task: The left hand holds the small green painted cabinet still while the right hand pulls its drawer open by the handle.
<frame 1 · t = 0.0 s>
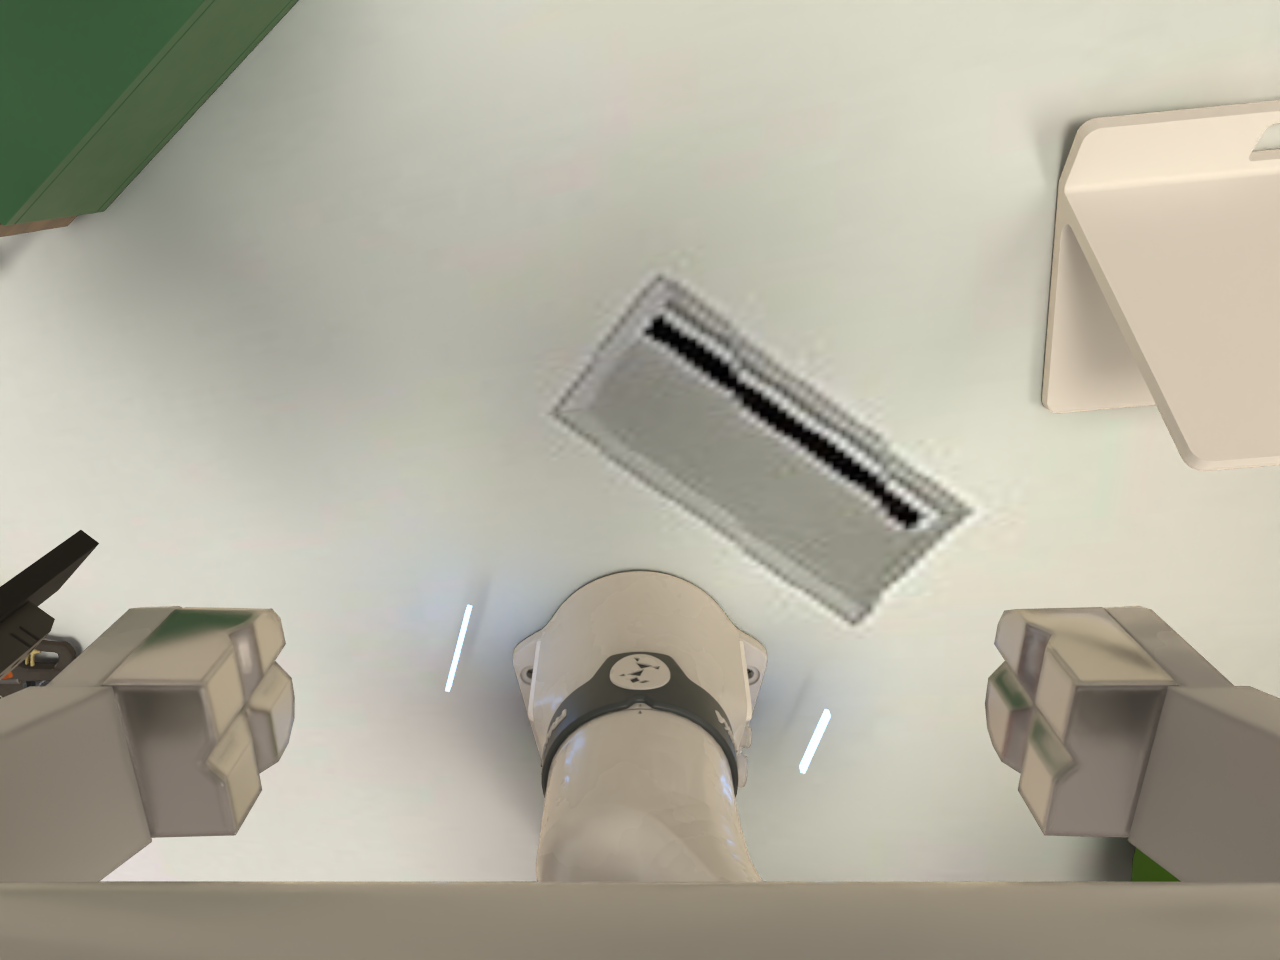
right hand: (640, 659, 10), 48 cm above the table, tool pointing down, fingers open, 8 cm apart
vase: (1187, 833, 72), on the table
tablet stand: (1251, 254, 55), on the table
cabinet: (145, 11, 50), on the table
toy gun: (91, 654, 66), on the table
drawer: (37, 73, 47), point 5 cm above the table, slide at 0.7 cm
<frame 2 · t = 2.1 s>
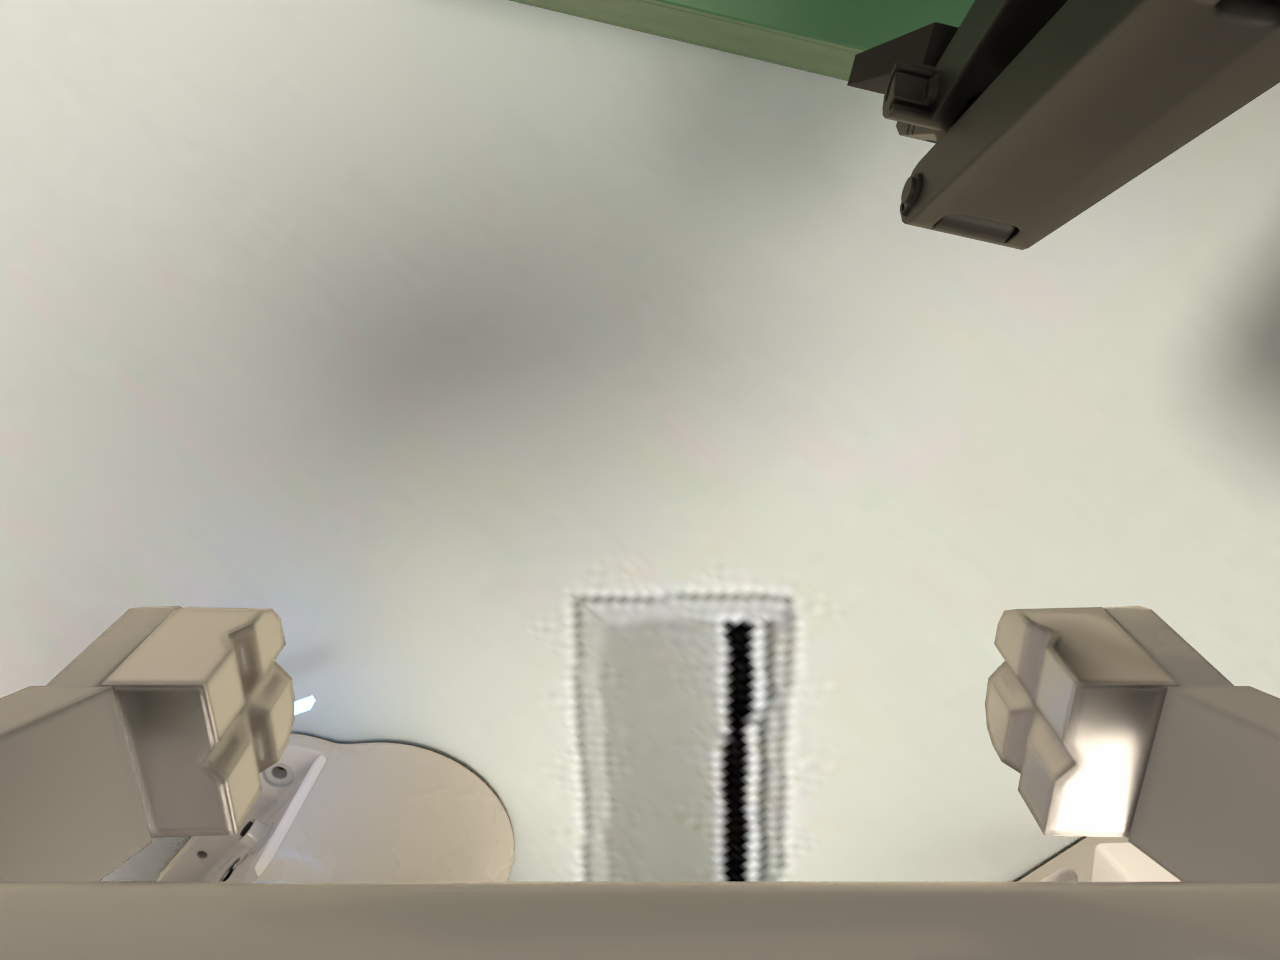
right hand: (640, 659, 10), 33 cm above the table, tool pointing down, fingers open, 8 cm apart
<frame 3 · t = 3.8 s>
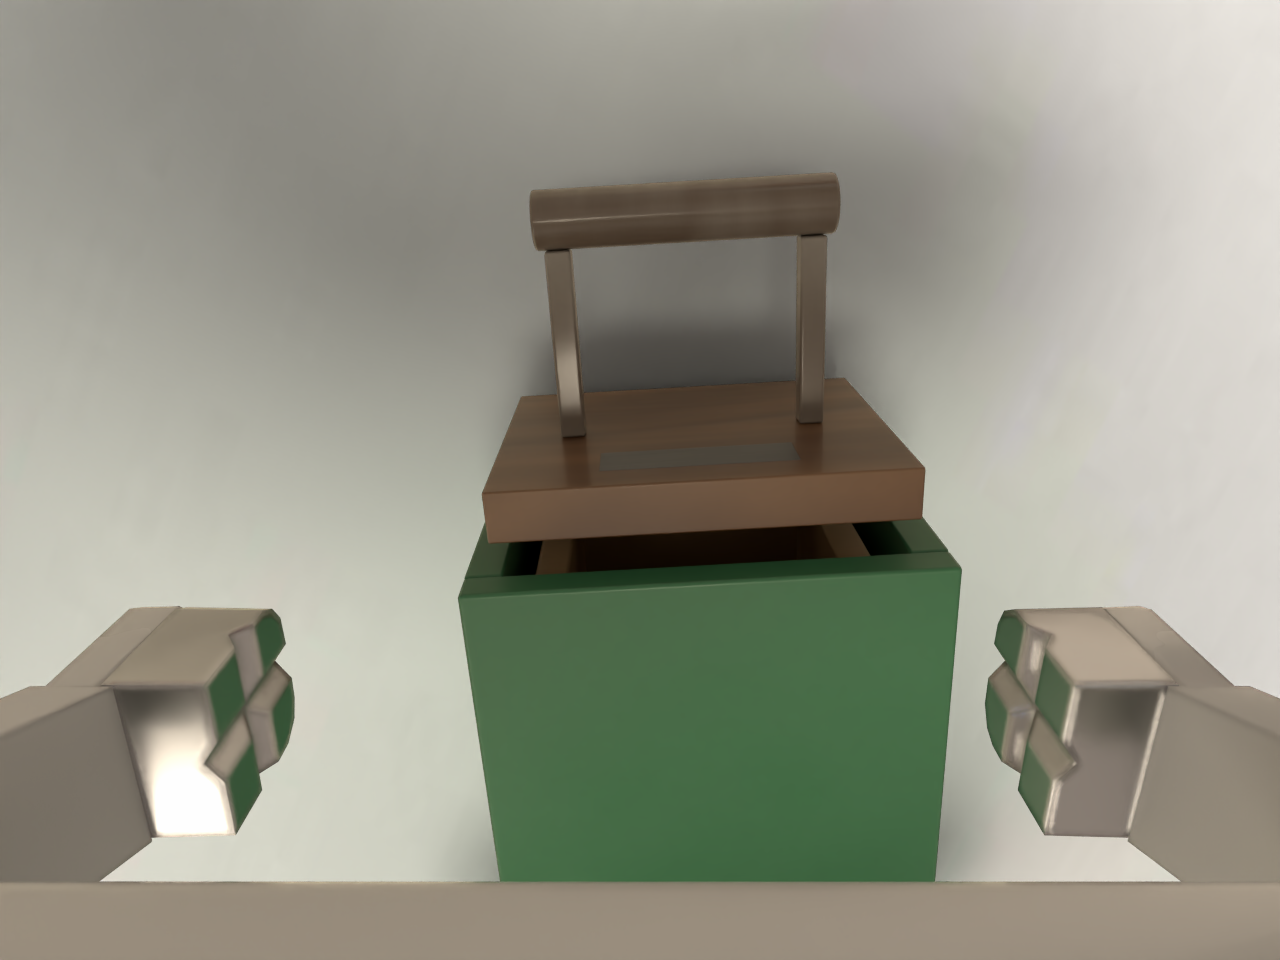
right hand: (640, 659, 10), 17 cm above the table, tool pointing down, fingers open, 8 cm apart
cabinet: (694, 731, 31), on the table, touching left hand
drawer: (700, 676, 24), point 5 cm above the table, slide at 0.7 cm
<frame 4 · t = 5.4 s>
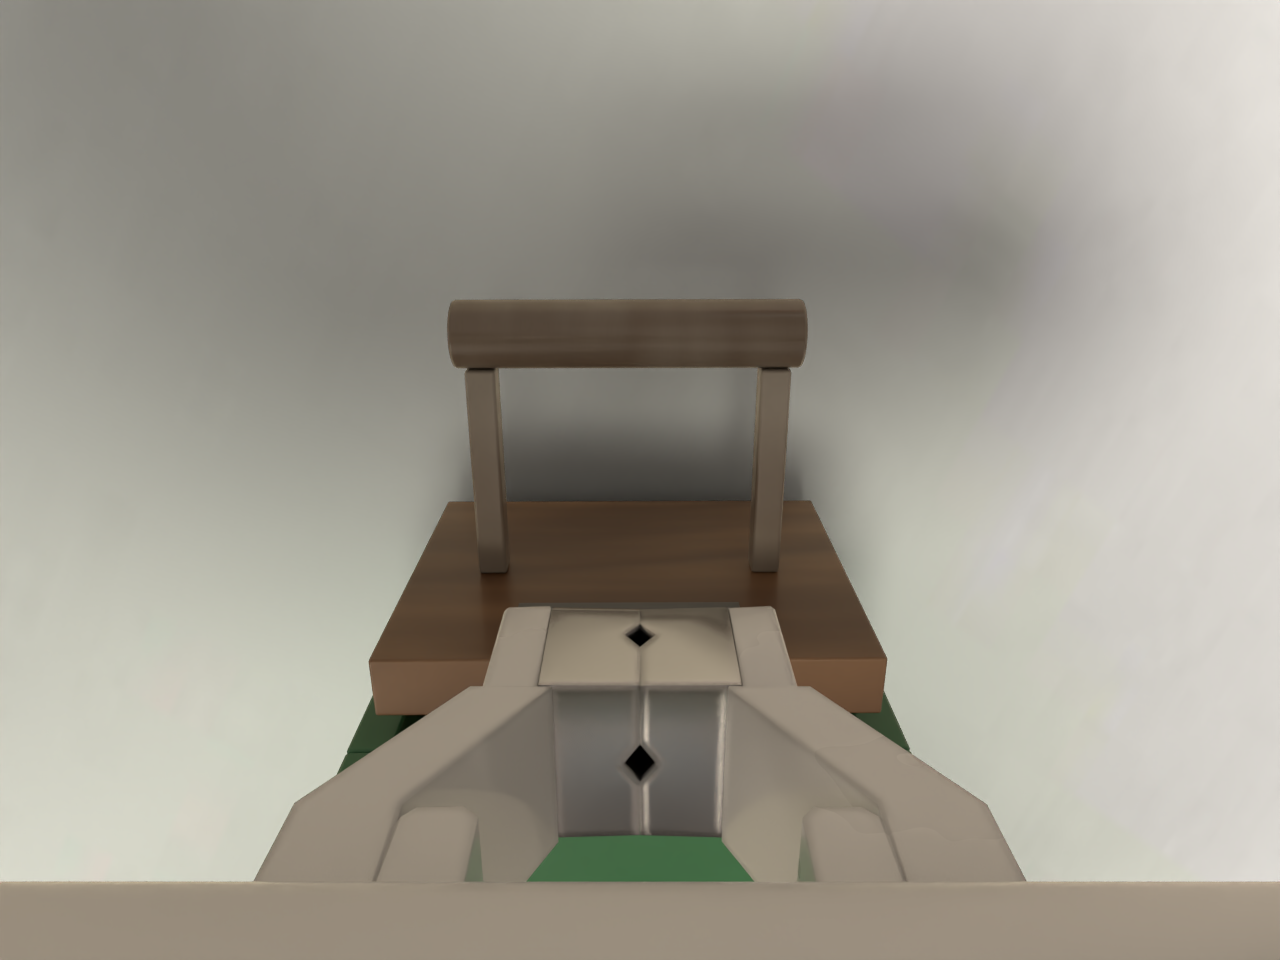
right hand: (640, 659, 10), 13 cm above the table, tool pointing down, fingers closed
cabinet: (632, 856, 28), on the table, touching left hand
drawer: (630, 829, 22), point 5 cm above the table, slide at 0.7 cm
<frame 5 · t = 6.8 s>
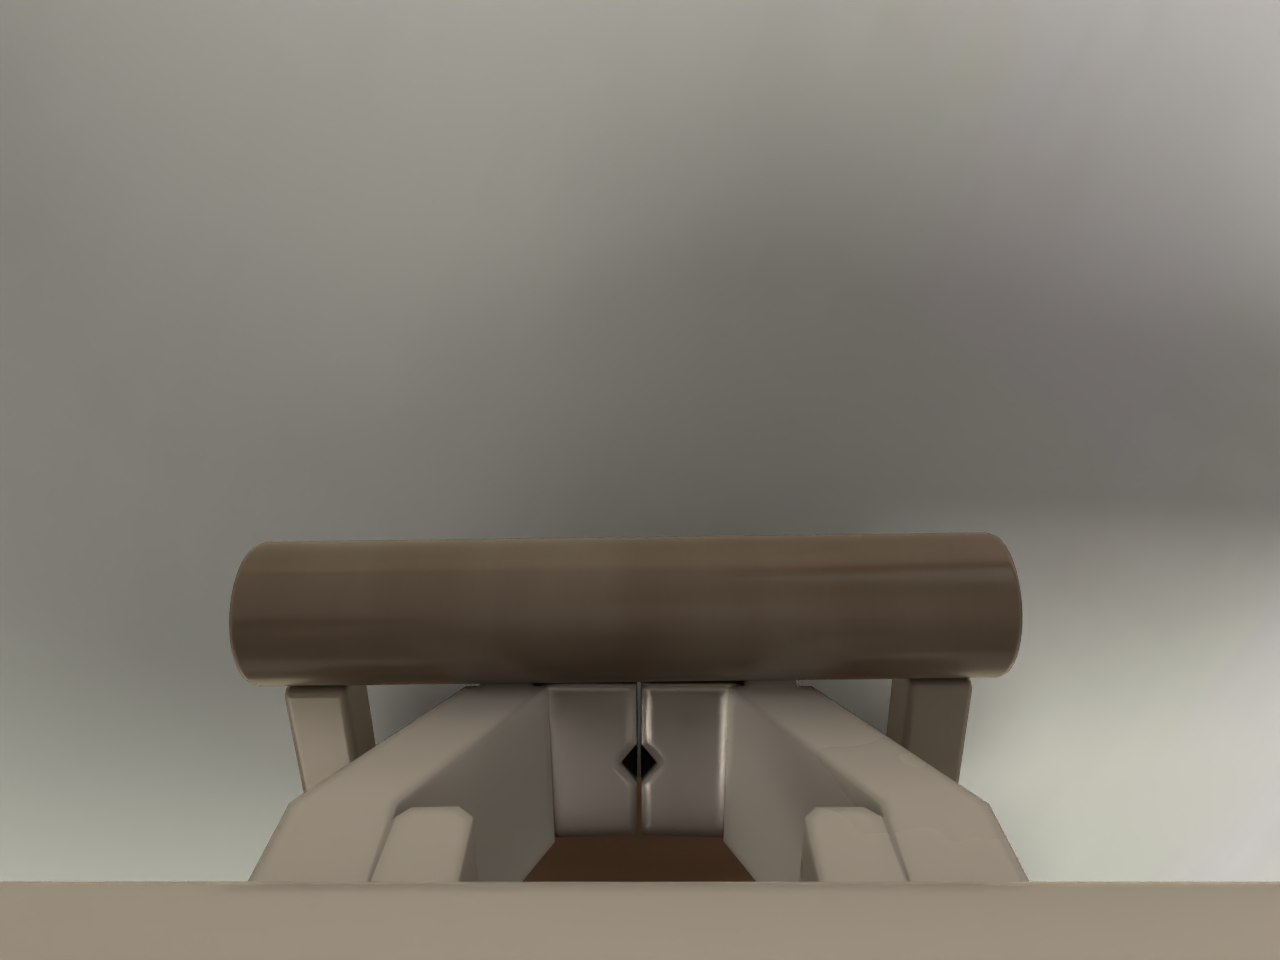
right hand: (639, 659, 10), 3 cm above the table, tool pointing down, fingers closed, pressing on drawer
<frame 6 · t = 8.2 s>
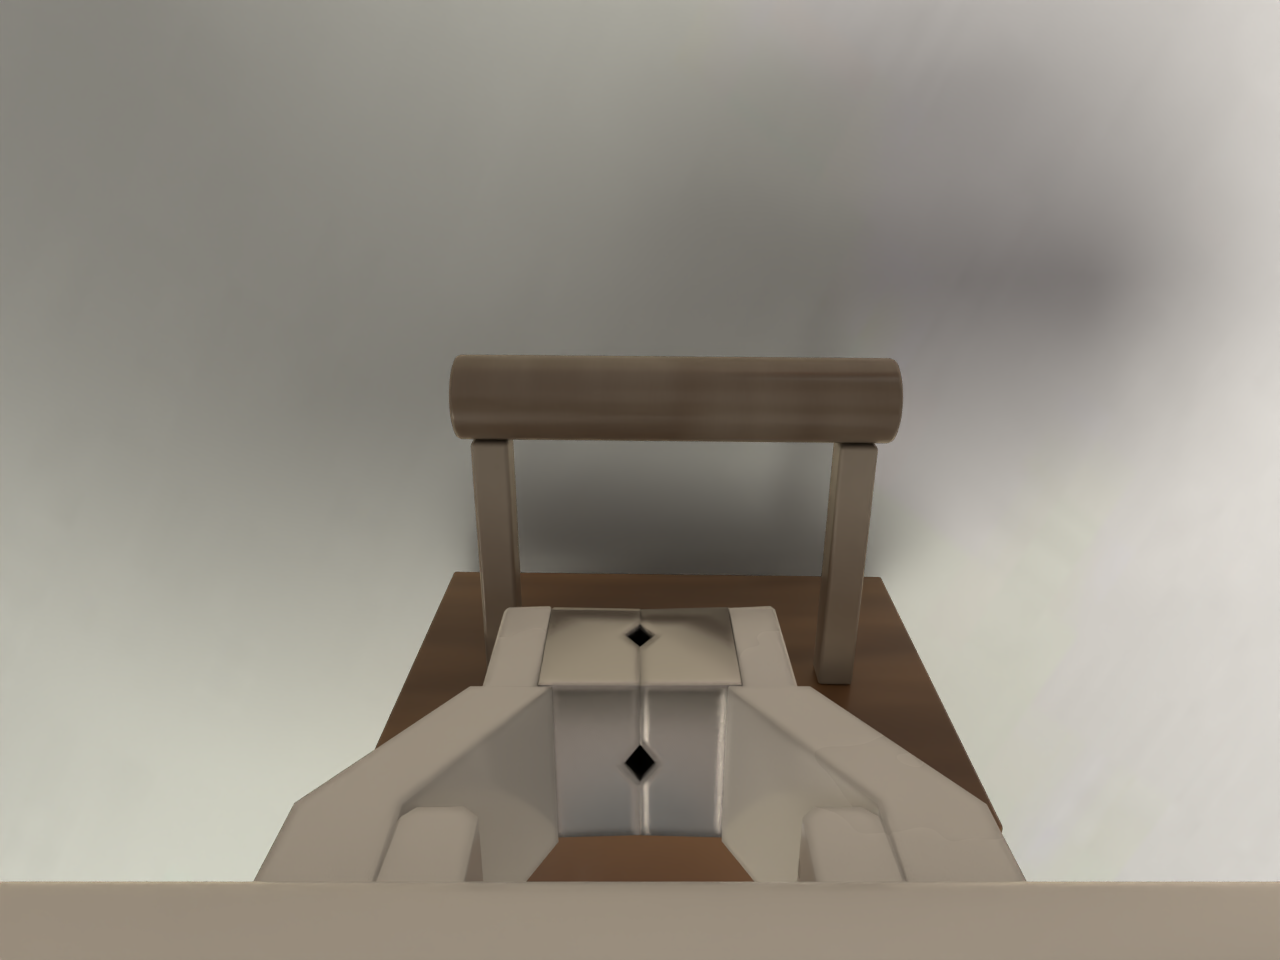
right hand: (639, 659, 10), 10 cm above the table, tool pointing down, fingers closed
when the left hand's fingers open (4 cm above the table, at t = 9.3 s): cabinet stays where it is, on the table.
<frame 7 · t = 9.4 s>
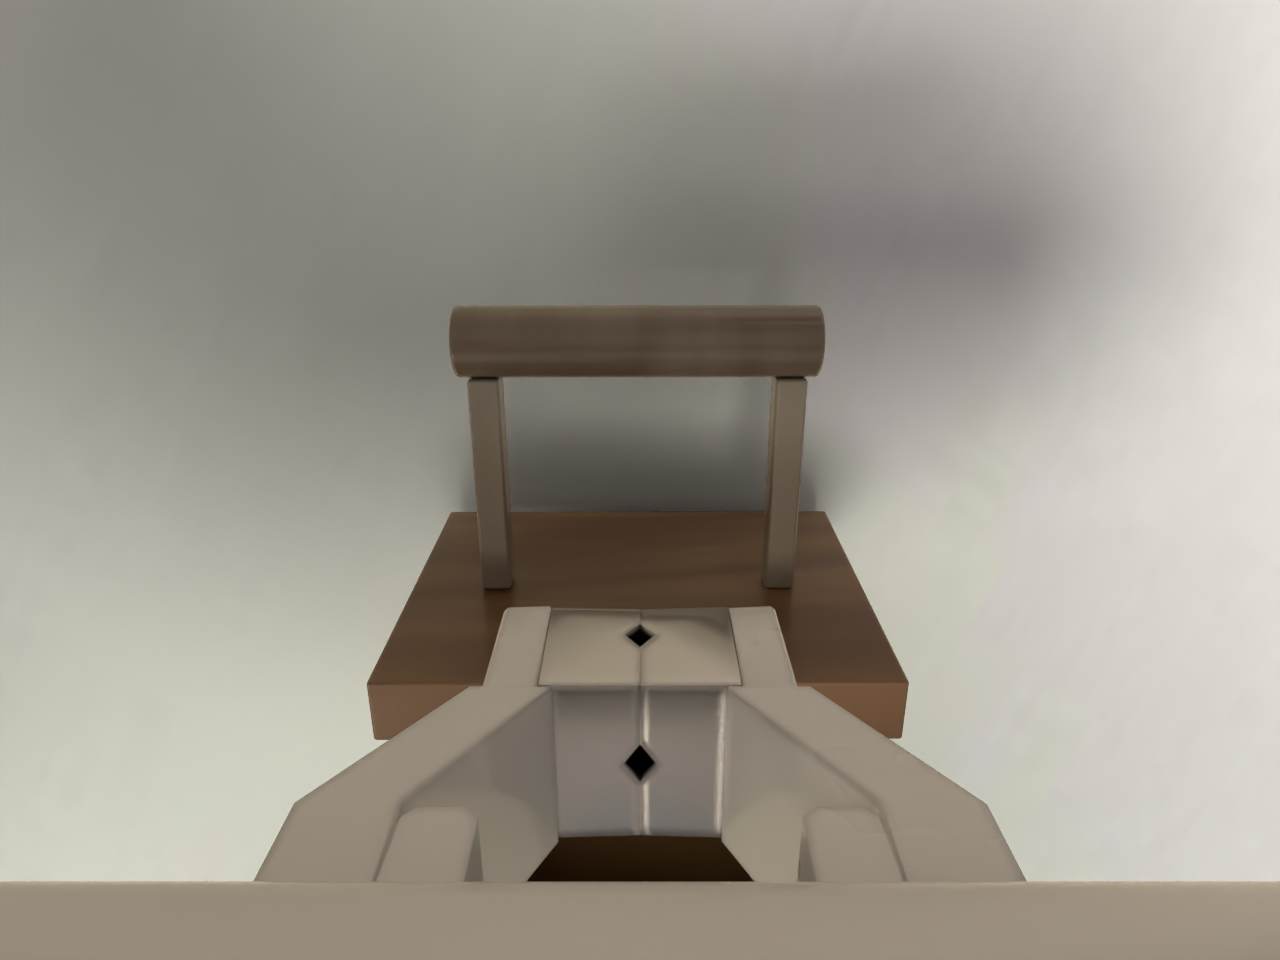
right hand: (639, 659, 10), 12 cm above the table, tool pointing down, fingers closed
drawer: (638, 851, 21), point 5 cm above the table, slide at 6.6 cm
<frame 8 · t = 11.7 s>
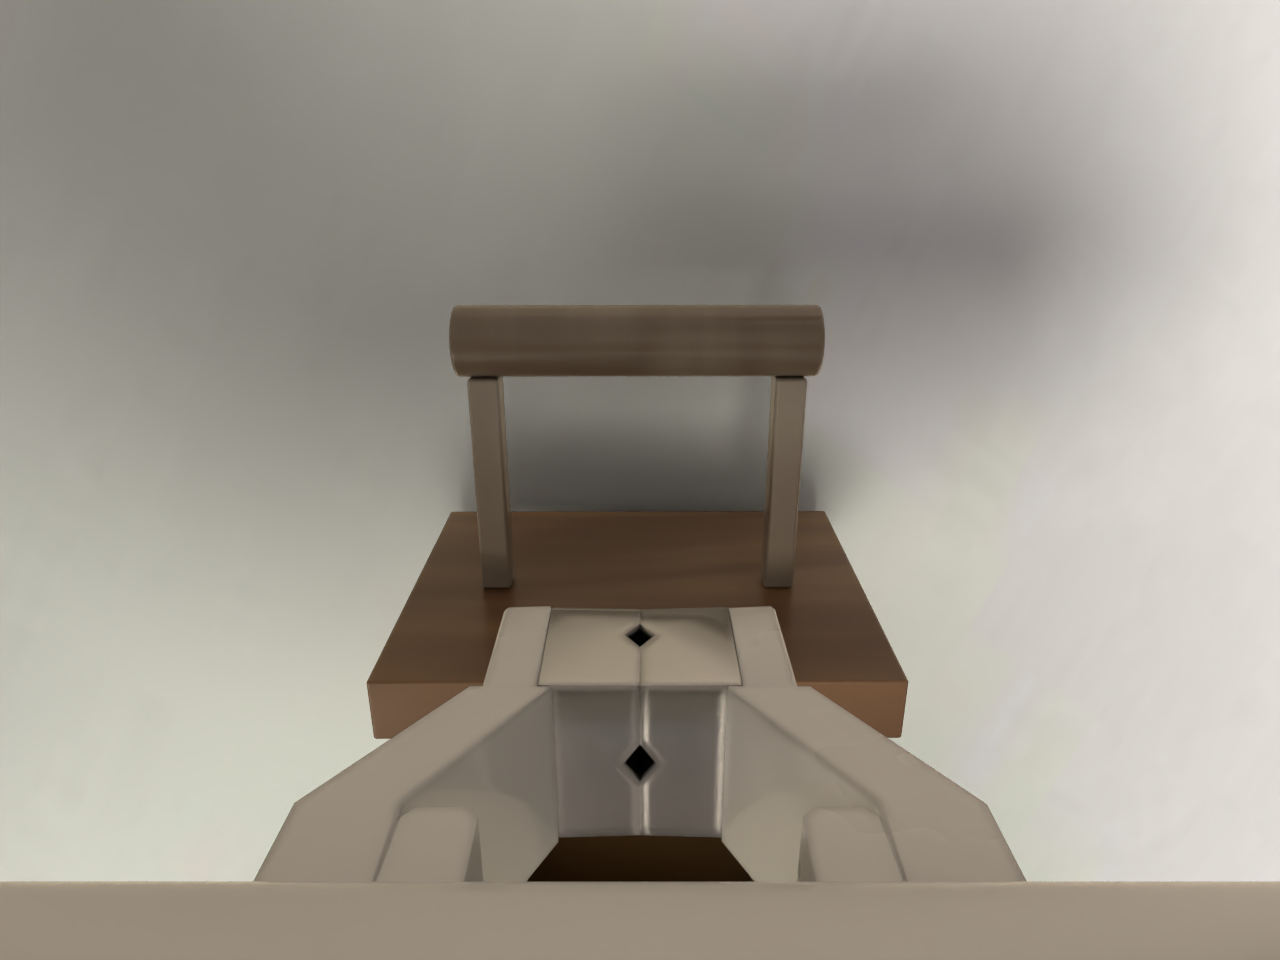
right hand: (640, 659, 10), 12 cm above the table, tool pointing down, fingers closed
drawer: (638, 850, 21), point 5 cm above the table, slide at 6.6 cm
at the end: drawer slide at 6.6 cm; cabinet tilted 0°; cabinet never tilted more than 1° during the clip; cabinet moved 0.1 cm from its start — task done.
